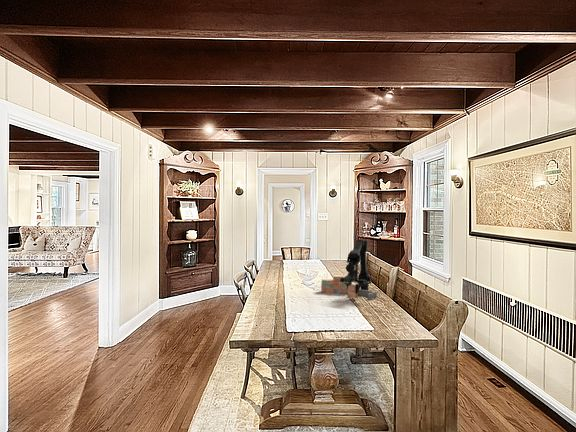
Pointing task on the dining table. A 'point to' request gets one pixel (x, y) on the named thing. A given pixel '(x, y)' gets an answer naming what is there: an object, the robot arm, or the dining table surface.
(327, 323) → the dining table surface
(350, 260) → the robot arm
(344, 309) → the dining table surface
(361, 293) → the open-fronted box
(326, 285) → the stack of blocks
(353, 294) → the terracotta block
